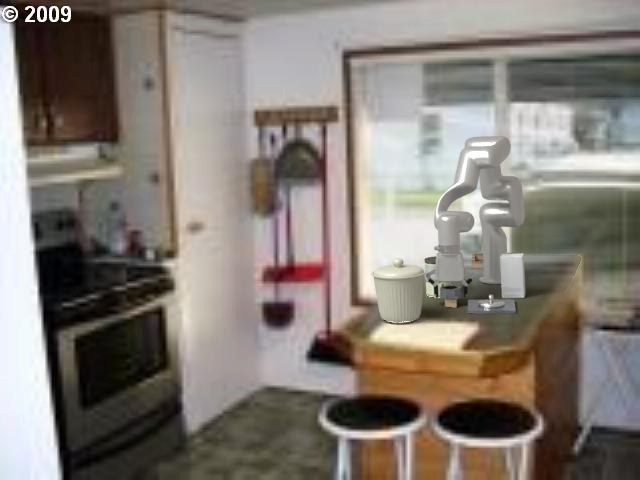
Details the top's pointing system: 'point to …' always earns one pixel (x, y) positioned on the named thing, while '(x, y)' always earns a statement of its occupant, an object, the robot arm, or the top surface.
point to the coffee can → (430, 266)
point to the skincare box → (512, 275)
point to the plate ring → (450, 292)
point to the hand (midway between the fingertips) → (450, 296)
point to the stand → (451, 303)
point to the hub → (491, 306)
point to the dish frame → (479, 263)
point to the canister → (399, 291)
